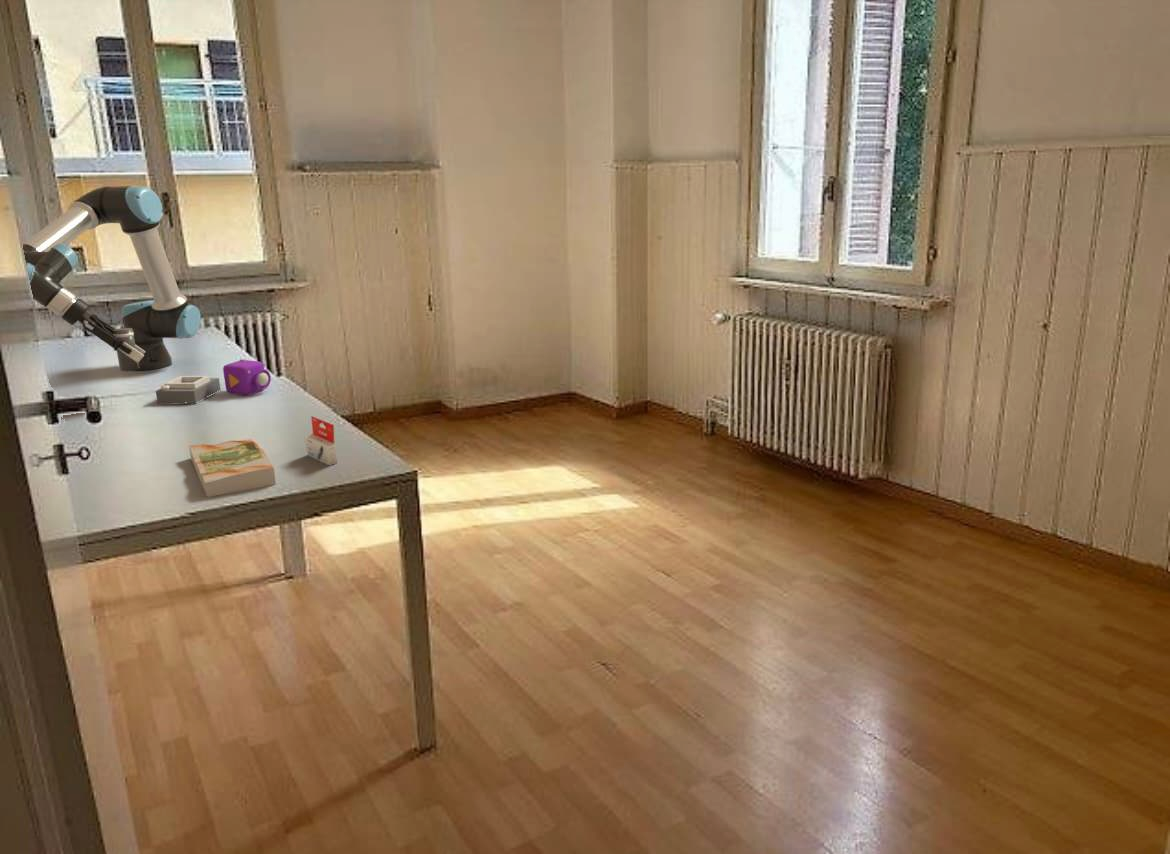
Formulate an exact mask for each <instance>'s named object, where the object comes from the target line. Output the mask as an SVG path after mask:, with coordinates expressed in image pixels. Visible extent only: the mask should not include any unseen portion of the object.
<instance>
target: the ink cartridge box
mask: <svg viewBox="0 0 1170 854" xmlns="http://www.w3.org/2000/svg"><path fill="white" fill-rule="evenodd" d="M321 424H322V425H323V426H324V427H325V428H324V427H321ZM311 428H312V434H308V435H305V436H304V438H305V446H306V454H307V456H309V457H310V458H313V459H315V460H317V461H319V462H321V463H323V464H325V465H328V466H331V465H335V464H338V457H337V451H336V450H337V449H336V443H335V425H334V424H333V423H331V422H330V423H329V422H327V421H325V420H322V419H320V418H317V417H316V416H311Z"/></svg>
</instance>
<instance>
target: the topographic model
mask: <svg viewBox="0 0 1170 854" xmlns="http://www.w3.org/2000/svg"><path fill="white" fill-rule="evenodd" d="M188 447H189V453H190V460H191V461H192V464H193V466H194V468H195V471H196V474H197V476H198V479H199V481H200V483H201V486H202V487H203V490H204V493H205V496H206V497H207V498H208V497H209V498H210V497H213V496H218V495H226V494H228V493H235V492H236V493H237V492H240V491H245V490H252V489H257V488H262V487H268V486H273V485H276V484H277V482H276V475H275V468H274V466H273V465H272V463H271V461H270V459H269V457H268V456H267V453H266V452H265V451H264V449H262V448H261V447H260V445H259V444H258V443H256V442H255V441H253V439H252V438H248V439H242V440H226V441H223V442H219V443H216V444H204V443H203V444H194V445H193V444H192V445H188Z"/></svg>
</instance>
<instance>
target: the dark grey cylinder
mask: <svg viewBox="0 0 1170 854" xmlns="http://www.w3.org/2000/svg"><path fill="white" fill-rule="evenodd" d="M113 335H114V336H116V337H117V338H118V339H120V340H121V341H122V342H123V343H124V342H125V343H127V344H128V345H130V346H131V347H133V348H134V349H136V346H135V340H134V333H133V329H132V328H124V327H122V328H115V330H113ZM116 354H117V360H118V366H119V370H120V371H121V372H130V371H138V370H137V369H139V363H137V362H136V361H135V360H133V359H132V358H130V357H129V356H127V355H126V354H124V353H123V352H121V351H120V350H118V349H117V350H116Z"/></svg>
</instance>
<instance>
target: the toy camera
mask: <svg viewBox="0 0 1170 854" xmlns="http://www.w3.org/2000/svg"><path fill="white" fill-rule="evenodd" d="M222 372H223V379H224V384H225V390H226V392H227V393H228V394H232V395H233V394H234V395H240V394H241V395H242V396H249V395H253V394H255V393H256V394H257V393H259V392H262V391H264V390H266V389H268V388H269V386H270V384H271V380H272V379H271V377H272V376H271V373H270V371H268V370H267V369H265V366H264V363H263V362H262V361H257V360H249V359H247V360H246V358H244V357H243V358H240V359H239V360H238V361H234V362H231V363H228V364H225V365H224V366H223V367H222Z"/></svg>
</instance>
